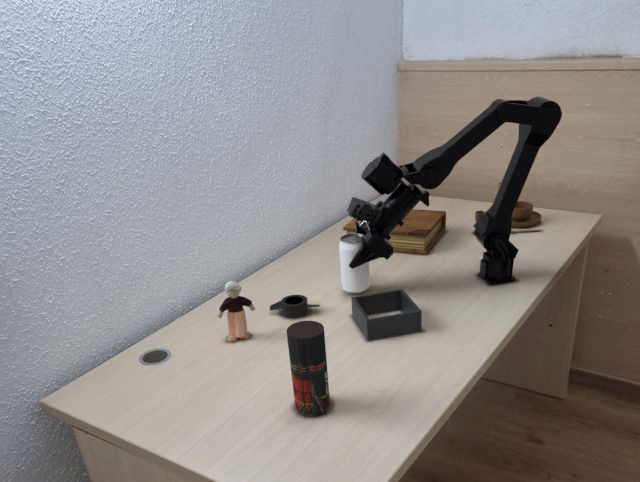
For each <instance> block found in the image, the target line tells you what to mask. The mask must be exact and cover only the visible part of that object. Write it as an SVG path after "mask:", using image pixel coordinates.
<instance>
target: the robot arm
mask: <svg viewBox="0 0 640 482" xmlns="http://www.w3.org/2000/svg"><path fill="white" fill-rule="evenodd" d="M562 117H563V111H562V109H561V106H560V105H559V103H558V102H555V101H554V100H551V99H548V98H546V97H543V96H534V97H532V98H530V99H528V100H524V99H522V100H521V99H504V98H498V99H495V100H493V101H492V102H491V103H490V105H489V106H488V107H486V109H485V110H483V111H482V112H481V113H479V115H477V116H476V117H475V118H474V119H472V120H471V121H470V122H469V123H468V124H467V125H465V126H464V127H463V128H462V129H461V130H460V131H458V132H457V133H456V134H455V135H453V136H452V137H451V138H450V139H449V140H448V141H446V142H445V143H443V144H442V145H440V146H437V147H435V148H433V149H430V150H429V151H427V152H425V153H424V154H422V155H420V156H419V157H417V158H415V160H414V161H412V162H408V163H405V164H401V165H397V164H396V163H395V162H394V161H393V160H392V159H391V158H390V157H389V155H387V154H386V153H385V152H381V154H380V155H379V156H376V157H375V158H374V159H372V161H369V163H367V165H366V166H365V168H364V169H363V171H362V173H361V179H362V180H363V181H364V182H365V183H367V184H368V185H369V186H370V187H371V188H372V189H373V190H374V191H376V193H378V194H379V195H380V196H384V195H386V196H387V197H386V198H385V200H384V201H383V200H378V201H377V202H376V203H375V204H374V203H372V202H370V201H368V200H364V199H361V198H358V197H355V196H352V197H351V199H350V202H349V204H348V207H347V210H346V212H347V213H348V216H349V217H351V218H352V219H353V218H356V220H357V221H359V220H360V221H359V223H358V222H356V221H355V228H356V233H357V234H363V235H365V238H363V237H362V236H361V247H360V249H359V250H358V252H357V253H356V255H355V256H354V258H353V259H352V261H351V262H350V264H349V267H350V268H352V269H353V268H355V267H358V266H360V265H362V264H365V263H367V262H369V263H370V262H372V261H375V260H378V259H383V258H384V259H385V260H387V261H388V260H389V259H390V258H391V257H392V256H393V255H394V251H393V246H392V244H391V242H390V241H389V240H390V238H391V236H390V234H391V233H392V232H393V230H394V229H395V228H396V227H397V226H398V225H400V226H402V225H403V224H404V222H403V219H404V218H405V217H406V216H407V215H408V214H409V213H410V212H411V210H412V209H415V207H416V206H417V205H418V204H419V203H420V202H421V203H423V205H425V207H429V206H430V204H431V203H430V195H431V194H430V192H429V190H435V189H437V188H438V187H440V186H441V185H442V183H444V181H445V180H446V179H447V178H448V177H449V176H450V174H451V173H452V171H453V170H454V168H455V166H456V165H457V164H458V162H459V161H461V159H463V158H465V156H466V155H468V154H469V153H470V152H471V151H473V150H474V149H475V148H476V147H477V146H479V145H480V144H481V143H482V142H484V141H485V140H486V139H487V138H488V137H489V136H490V135H492V134H494V132H496V130H498V129H499V128H500V127H502V126H503V125H504V124H506V123H511V124H513V123H514V124H518V139H517V142H516V145H515V148H514V149H513V150H514V151H513V153H512V155H511V158H510V161H509V163H508V165H507V168H506V170H505V172H504V176H503V178H502V180H501V183H500V185H499V187H498V191H497V193H496V195H495V198H494V201H493V202H492V205H491V206H490V207H489V208H488V209H487V210H486V211H485V210H482V209H481V210H479V211H480V212H479V216H478V220H477V222H476V221H475V223H474V224H473V228H474V231H475V234H474V236H475V238H476V241H478V243H480V245H481V246H482V247H483V249H485V250H486V251H483V252H482V258H481V259H480V265H479V272H478V273H477V275H478V276H479V277H480V278H481V279H483V281H485V282H486V283H487V284H488V285H491V286H492V285H497V284H503V283H509V282H514V281H516V277H515V276H514V275H513V272H514V260H515V259H516V258H517V255H518V253H519V251H520V250H519V249H518V248H517V247H516V246H515V244H513V243H512V242H511V240H510V237H511V234H512V233H511V231H513V230H512V229H513V227H512V214H513V211H514V208H515V206H516V203H517V201H519V198H520V196H521V194H522V192H523V189H524V186H525V184H526V182H527V179H528V177H529V175H530V173H531V170H532V168H533V165H534V163H535V162H536V158H537V156H538V153H539V151H540V149H541V147H542V146H543V145H544V144H545V143H546V142H547V141H548V140H549V139H550V138H551V137H552V135H553V134H554V133H555V131H556V130H557V128H558V126H559V124H560V122H561V120H562ZM403 179H404V180H405V181H406V182H407V183H406V182H405V181H404V180H403ZM408 183H409V184H408ZM417 185H419V186H420V187H421V188H419V187H418V186H417ZM423 189H424V190H423Z"/></svg>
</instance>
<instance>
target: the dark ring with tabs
mask: <svg viewBox="0 0 640 482" xmlns="http://www.w3.org/2000/svg"><path fill="white" fill-rule="evenodd" d="M320 306H321V304H309V301H308V297H307V296H305V295H302V294H290V295H287V296H285V297H282V298H281V300H279V301H277V302H275V303H273V304H270V305H269V311H270V312H271V311H281V313H282V316H283V317H285V318H286V319H299V318H303V317H305V316H307V315H308V313H309V308H320Z"/></svg>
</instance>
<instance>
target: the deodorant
mask: <svg viewBox="0 0 640 482" xmlns="http://www.w3.org/2000/svg"><path fill="white" fill-rule="evenodd" d="M286 340H287V347H288V355H289V356H288V357H289V364H290V373H291V381H292V390H293V398H294V406H295V407H294V408H295V411H296V412H297V413H298V414H299V415H300V416H304V417H307V418H314V417H319V416H322V415H324V414H326V413H327V412H328V411H329V410H330V408H331V399H330V385H329V373H328V361H327V349H326V336H325V326H324V325H323V324H322V323H321V322H319V321H316V320H301V321H300V320H299V321H297V322H293V323H291V324H290V325H288V326H287V328H286Z"/></svg>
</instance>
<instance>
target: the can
mask: <svg viewBox="0 0 640 482" xmlns="http://www.w3.org/2000/svg"><path fill="white" fill-rule="evenodd" d="M361 236H362V237H363V238H365V235H363V234H357V233H353V234H347V233H346V234H344V235H342V236H341V237H340V242H339V244H338V253H339V254H338V255H339V266H340V280H341V281H340V282H341V288H342V290H343V291H344V292H346V293H350V294H359V293H364V292H365V291H367V290H368V289H369V288H370V287H371V279H370V262H367V263H365V264H362V265H360V266H358V267H355V268H353V269H352V268H350V267H349V264H350V262H351V261H352V259H353V258H354V256H355V255H356V253H357V252H358V250H359V249H360V247H361Z"/></svg>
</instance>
